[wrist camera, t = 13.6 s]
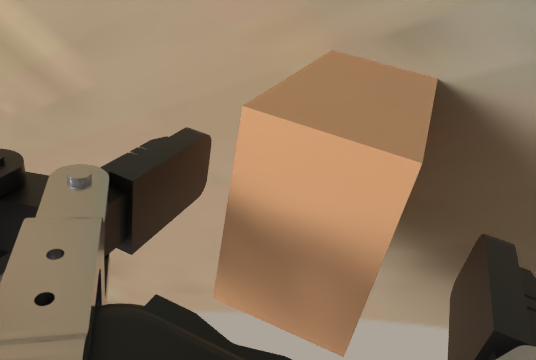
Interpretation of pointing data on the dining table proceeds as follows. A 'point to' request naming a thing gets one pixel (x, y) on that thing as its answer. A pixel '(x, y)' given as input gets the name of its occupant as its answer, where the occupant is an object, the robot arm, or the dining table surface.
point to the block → (321, 193)
